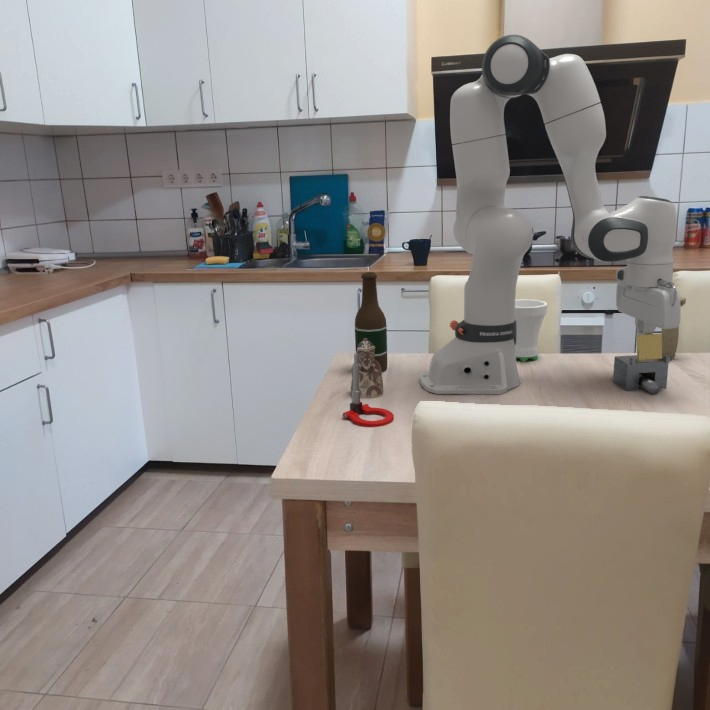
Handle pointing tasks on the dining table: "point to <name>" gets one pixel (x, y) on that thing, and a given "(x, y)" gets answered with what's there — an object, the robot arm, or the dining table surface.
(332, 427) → the dining table surface
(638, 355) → the keeper flap
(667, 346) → the handle
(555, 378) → the dining table surface
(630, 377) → the block
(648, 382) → the orange piece
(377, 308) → the beer bottle
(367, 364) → the figurine
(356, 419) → the tow hook
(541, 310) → the cup
